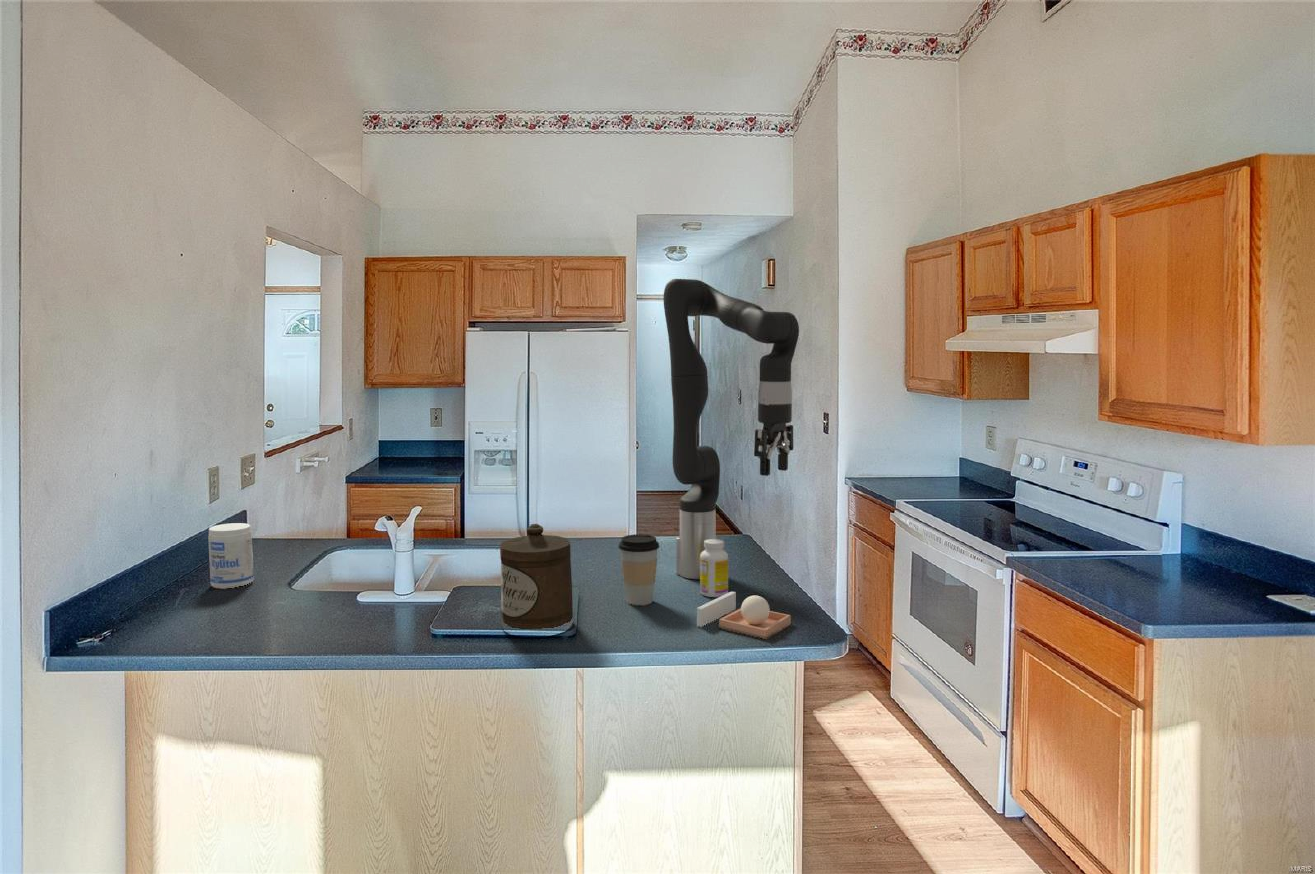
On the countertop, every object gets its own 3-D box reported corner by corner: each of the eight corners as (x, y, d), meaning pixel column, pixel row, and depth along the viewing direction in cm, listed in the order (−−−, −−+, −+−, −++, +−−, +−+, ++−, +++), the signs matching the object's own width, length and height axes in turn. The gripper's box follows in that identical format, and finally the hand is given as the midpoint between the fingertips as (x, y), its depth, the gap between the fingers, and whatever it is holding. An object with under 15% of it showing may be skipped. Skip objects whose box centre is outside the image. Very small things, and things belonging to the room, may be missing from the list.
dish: (719, 628, 170) (719, 619, 170) (745, 614, 179) (745, 605, 179) (765, 639, 164) (765, 630, 163) (790, 624, 172) (790, 615, 172)
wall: (696, 626, 172) (696, 608, 171) (731, 608, 183) (731, 591, 182) (701, 627, 171) (701, 609, 170) (735, 609, 182) (735, 592, 182)
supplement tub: (208, 592, 197) (204, 532, 195) (213, 581, 205) (209, 524, 204) (253, 587, 200) (249, 528, 199) (255, 577, 209) (252, 521, 207)
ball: (735, 625, 171) (735, 597, 170) (749, 616, 175) (749, 590, 175) (760, 631, 167) (760, 602, 166) (774, 622, 172) (774, 595, 171)
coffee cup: (666, 598, 190) (666, 535, 189) (648, 610, 182) (648, 545, 180) (630, 593, 194) (629, 531, 192) (611, 605, 186) (610, 540, 184)
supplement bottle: (731, 591, 196) (731, 539, 194) (724, 599, 189) (724, 545, 188) (704, 588, 198) (704, 536, 196) (696, 596, 192) (696, 543, 190)
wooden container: (490, 624, 173) (487, 523, 171) (550, 610, 182) (549, 514, 180) (523, 644, 162) (520, 536, 159) (586, 628, 171) (584, 526, 168)
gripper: (775, 399, 190) (774, 467, 192) (744, 402, 179) (743, 475, 181) (804, 400, 186) (803, 470, 188) (774, 404, 174) (773, 478, 176)
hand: (774, 472), depth 184 cm, fingers open, 8 cm apart
